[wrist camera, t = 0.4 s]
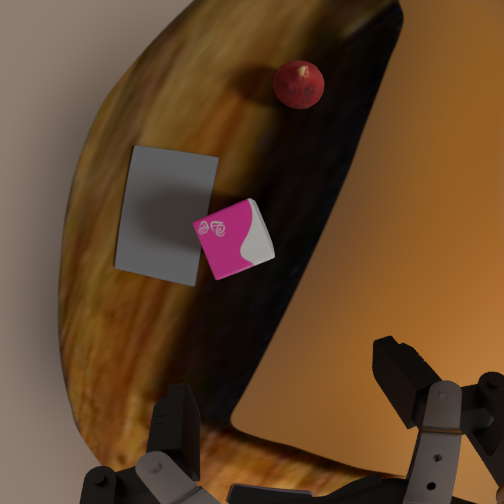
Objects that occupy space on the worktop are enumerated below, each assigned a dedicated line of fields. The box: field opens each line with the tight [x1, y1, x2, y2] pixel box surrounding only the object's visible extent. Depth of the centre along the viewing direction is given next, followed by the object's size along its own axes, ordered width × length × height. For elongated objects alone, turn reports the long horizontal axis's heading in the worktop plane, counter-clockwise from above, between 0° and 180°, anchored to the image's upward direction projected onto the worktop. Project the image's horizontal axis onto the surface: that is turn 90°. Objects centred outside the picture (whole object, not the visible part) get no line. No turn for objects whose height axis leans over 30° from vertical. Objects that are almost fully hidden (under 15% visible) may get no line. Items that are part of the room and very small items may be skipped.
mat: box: [115, 146, 219, 286], centre depth 39 cm, size 16×11×1 cm
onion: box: [273, 60, 324, 109], centre depth 32 cm, size 6×6×8 cm
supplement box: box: [192, 198, 275, 280], centre depth 33 cm, size 6×6×12 cm
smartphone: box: [227, 484, 313, 504], centre depth 46 cm, size 7×1×15 cm
